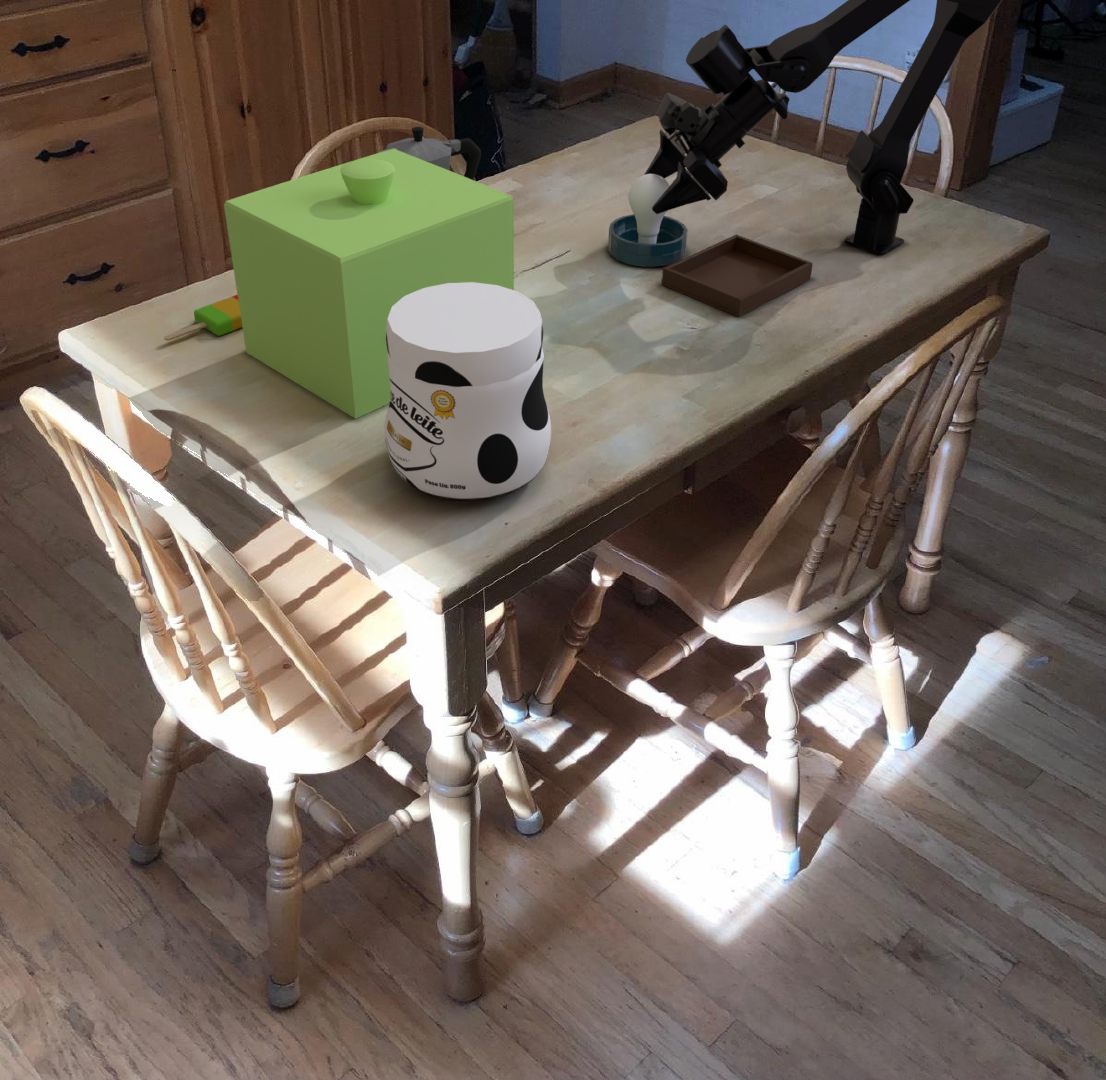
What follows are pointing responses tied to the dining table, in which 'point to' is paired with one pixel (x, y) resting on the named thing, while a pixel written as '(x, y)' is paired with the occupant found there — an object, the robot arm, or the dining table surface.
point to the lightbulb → (647, 205)
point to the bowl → (640, 254)
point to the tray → (737, 274)
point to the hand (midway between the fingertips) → (647, 198)
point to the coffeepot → (439, 150)
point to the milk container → (466, 391)
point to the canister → (357, 264)
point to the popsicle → (214, 318)
